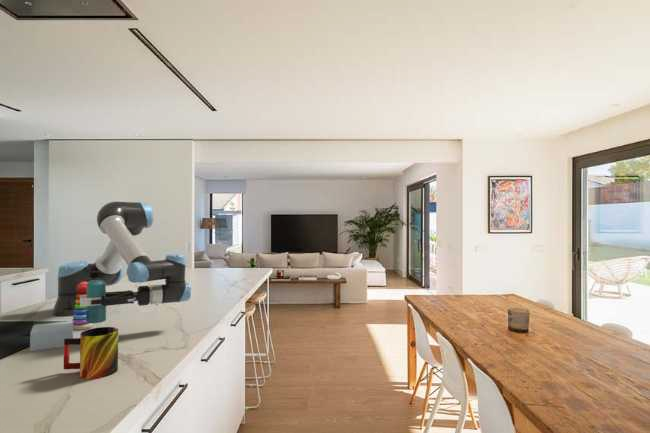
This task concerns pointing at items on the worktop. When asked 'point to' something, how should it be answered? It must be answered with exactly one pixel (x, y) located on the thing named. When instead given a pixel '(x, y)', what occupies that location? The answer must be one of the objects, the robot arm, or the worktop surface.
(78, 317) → the stacking toy
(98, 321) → the beverage bottle
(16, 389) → the worktop surface
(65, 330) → the block
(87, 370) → the mug
